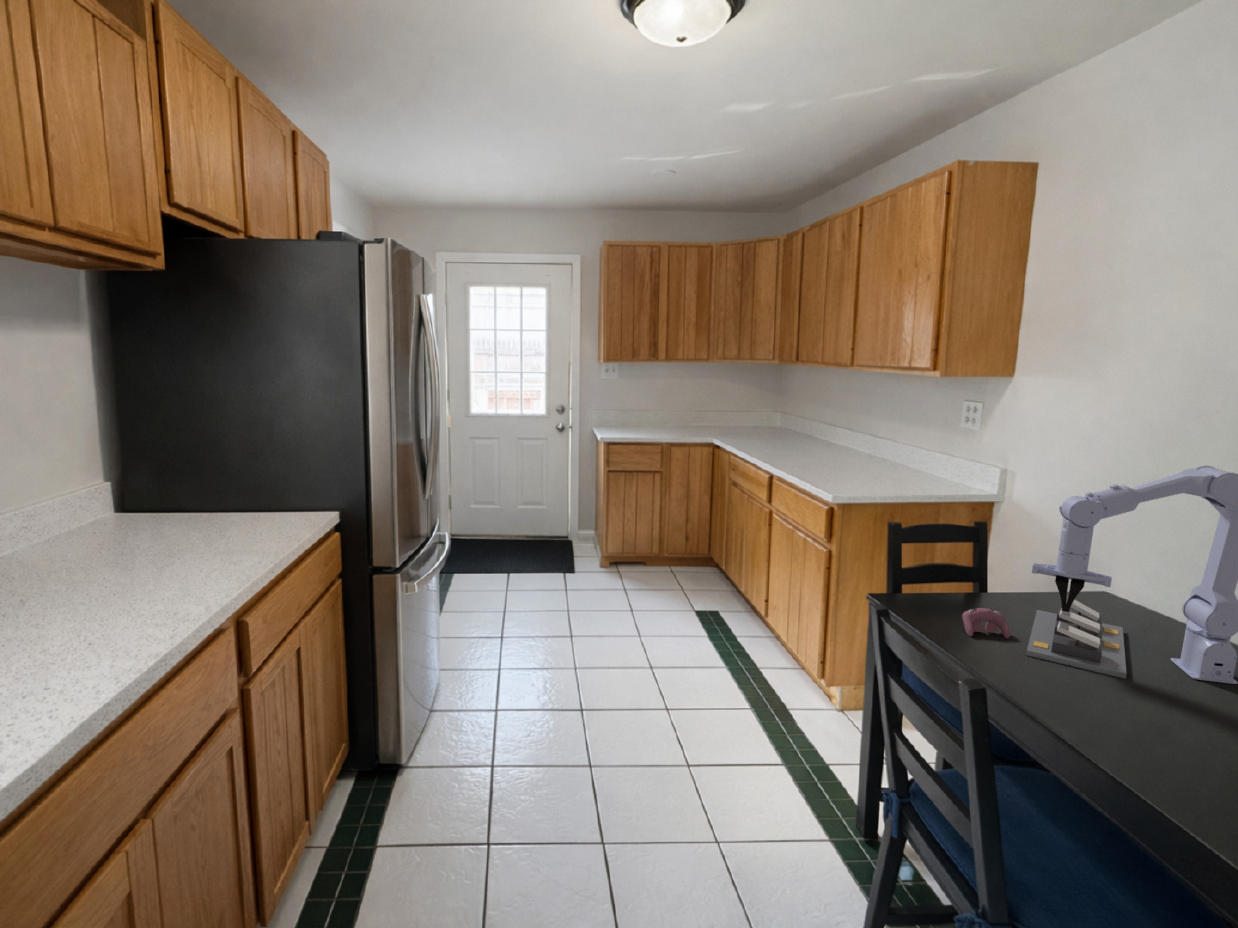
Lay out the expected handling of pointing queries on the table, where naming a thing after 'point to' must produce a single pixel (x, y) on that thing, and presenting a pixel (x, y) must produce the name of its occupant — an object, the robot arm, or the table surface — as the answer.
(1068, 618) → the rocker middle
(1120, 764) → the table surface
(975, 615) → the video game controller
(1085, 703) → the table surface
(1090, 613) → the rocker far
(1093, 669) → the switch board
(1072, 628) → the rocker near
